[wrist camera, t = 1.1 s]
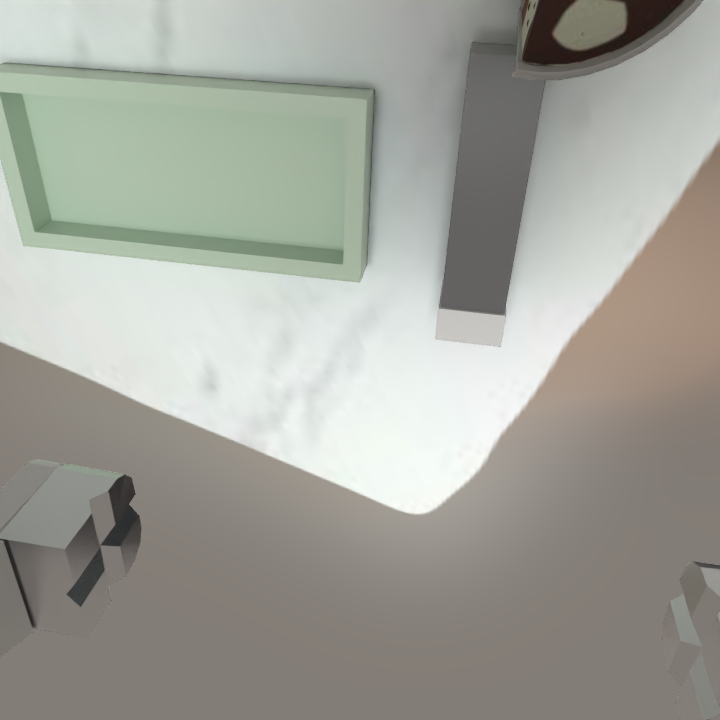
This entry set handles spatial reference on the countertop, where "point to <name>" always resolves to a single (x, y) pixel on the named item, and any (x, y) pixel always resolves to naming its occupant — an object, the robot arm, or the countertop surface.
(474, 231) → the dark grey bar
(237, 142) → the tray
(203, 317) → the countertop surface
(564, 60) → the food container
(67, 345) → the countertop surface
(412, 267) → the countertop surface
